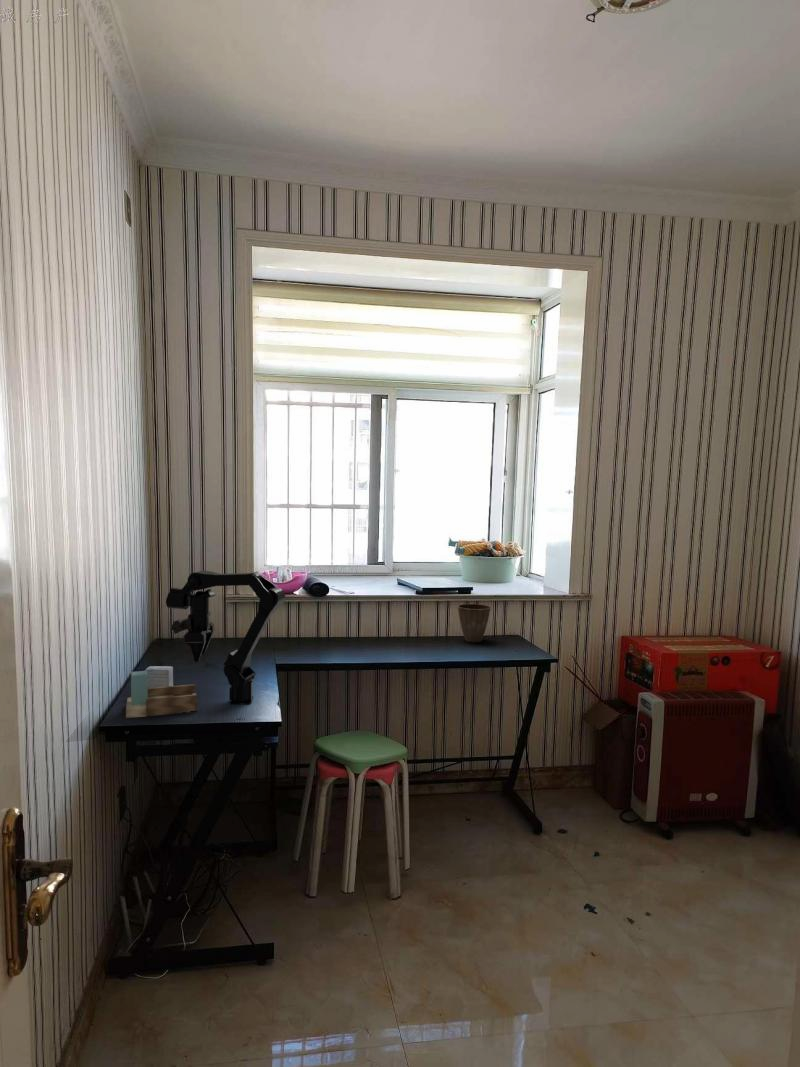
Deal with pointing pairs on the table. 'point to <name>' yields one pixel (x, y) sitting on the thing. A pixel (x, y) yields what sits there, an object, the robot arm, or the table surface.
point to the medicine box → (159, 676)
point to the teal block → (138, 687)
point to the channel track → (165, 701)
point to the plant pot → (473, 621)
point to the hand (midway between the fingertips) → (199, 658)
